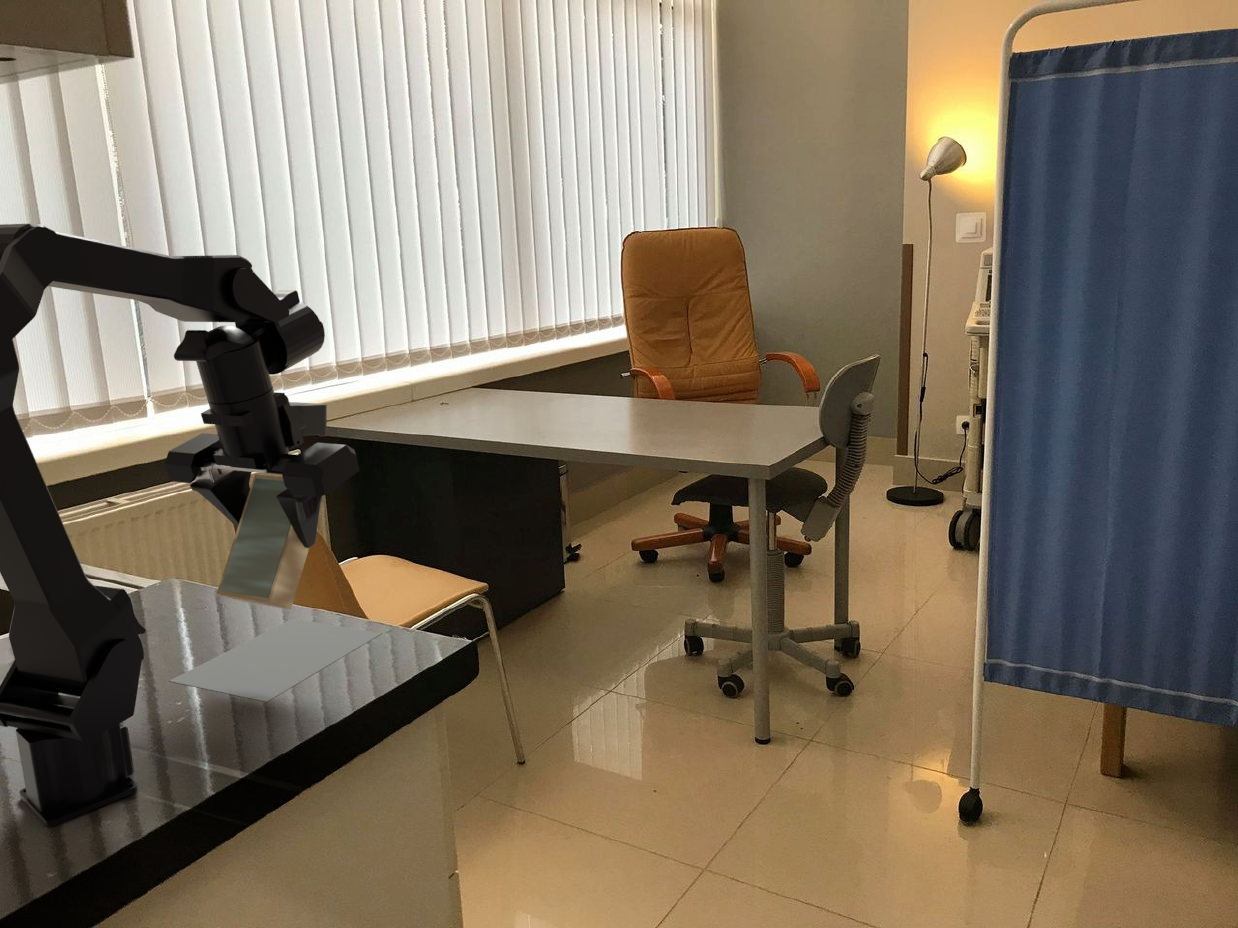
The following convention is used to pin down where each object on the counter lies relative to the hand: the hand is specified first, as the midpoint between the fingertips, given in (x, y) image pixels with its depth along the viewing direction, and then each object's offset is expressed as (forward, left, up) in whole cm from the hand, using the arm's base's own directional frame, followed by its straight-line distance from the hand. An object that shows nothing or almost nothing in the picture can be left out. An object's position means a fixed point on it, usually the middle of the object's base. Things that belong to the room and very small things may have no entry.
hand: (282, 542), depth 97 cm
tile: (-4, -1, -5) cm, 6 cm away
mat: (-1, +1, -12) cm, 13 cm away
